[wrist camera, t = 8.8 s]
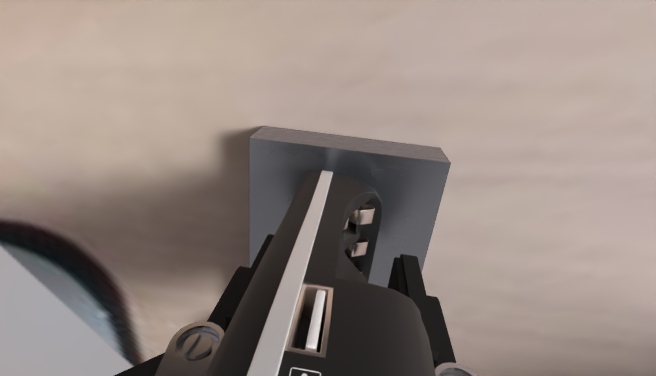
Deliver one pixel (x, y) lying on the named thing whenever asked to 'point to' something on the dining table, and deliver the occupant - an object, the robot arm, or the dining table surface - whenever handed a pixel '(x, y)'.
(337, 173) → the grey and yellow block
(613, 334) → the dining table surface
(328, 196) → the battery charger
